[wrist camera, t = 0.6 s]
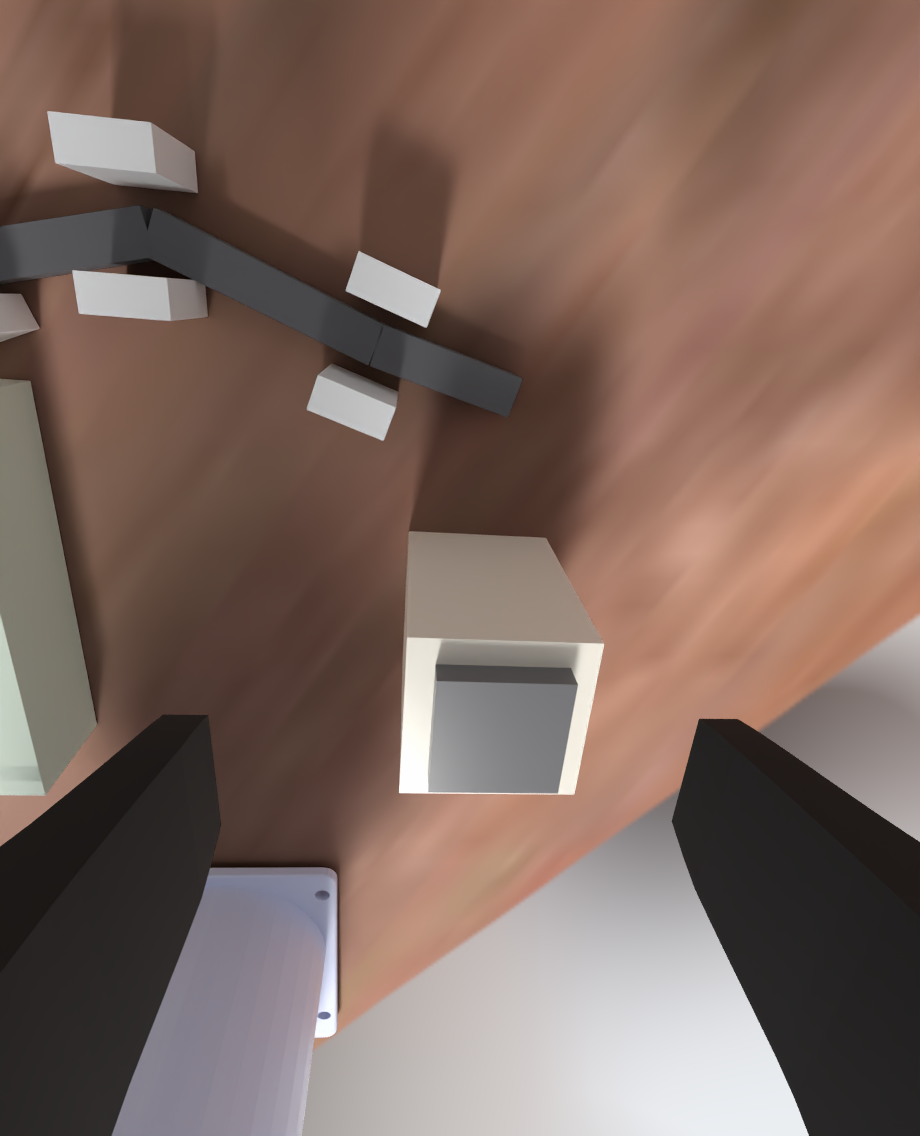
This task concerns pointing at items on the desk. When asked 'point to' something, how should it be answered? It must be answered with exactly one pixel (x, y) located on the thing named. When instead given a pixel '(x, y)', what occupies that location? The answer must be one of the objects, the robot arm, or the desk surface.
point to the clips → (170, 165)
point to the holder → (35, 614)
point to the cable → (246, 293)
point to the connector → (493, 667)
